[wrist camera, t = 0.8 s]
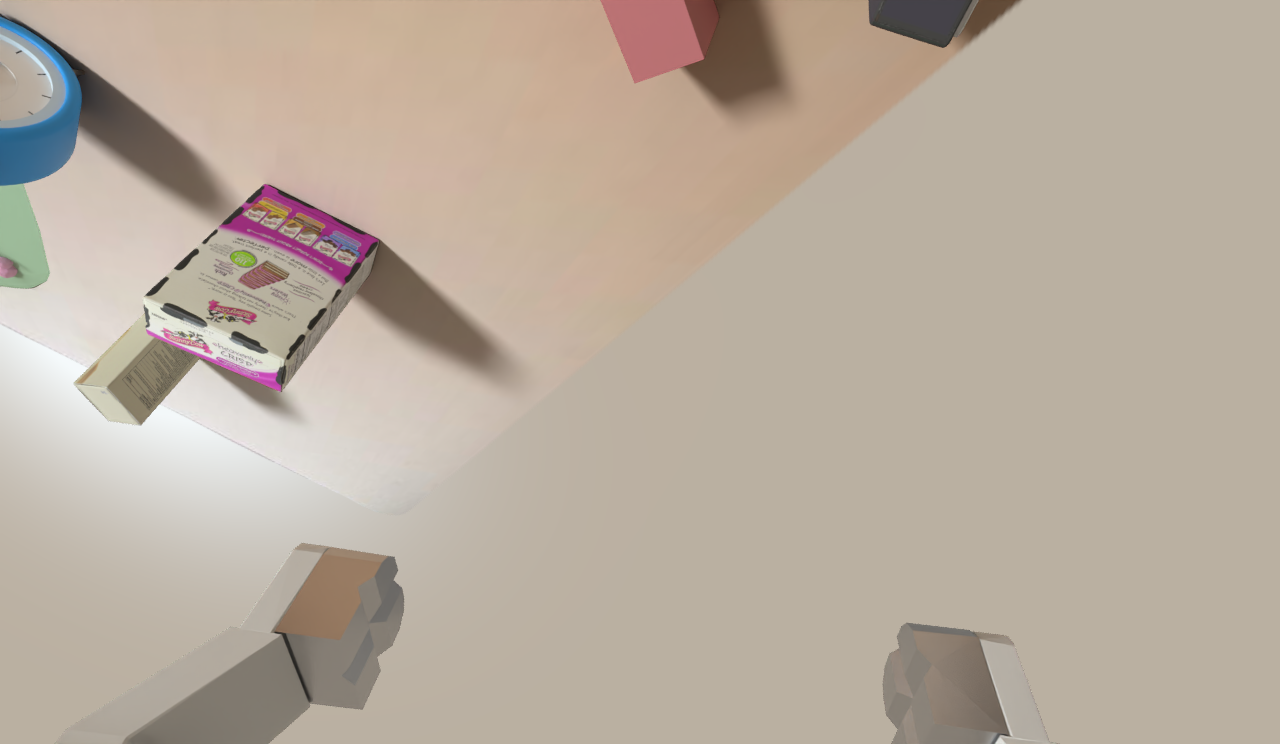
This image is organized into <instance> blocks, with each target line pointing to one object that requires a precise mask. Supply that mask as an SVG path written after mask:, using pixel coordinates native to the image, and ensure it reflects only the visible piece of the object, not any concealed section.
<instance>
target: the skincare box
mask: <svg viewBox="0 0 1280 744" xmlns="http://www.w3.org/2000/svg"><path fill="white" fill-rule="evenodd" d="M146 325H147V322H146V319H145V313H144V314H143V315H142V316H141V317H140V318H139V319H138V320H137V321H136V322H135V323H134V324H133V325H132V326H131V327H130V328H129V329H128V330H127V331H126V332H125V333H124V334H123V335H122V336H121V337H120V338H119V339H118V340H117V341H116V342H115V343H114V344H113V345H112V346H111V347H110V348H109V349H108V350H107V351H106V352H105V353H104V354H103V355H102V356H101V357H100V358H99V359H97V360H96V361H95V362H94V363H93V364H92V365H91V366H90V367H89V368H88V369H87V370H86V371H85V372H84V373H83V374H82V375H81V376H80V377H79V378H78V379H77V380H76V381H75V382H74V385H75V386H76V387H77V388H78V390H79V391H80V392H81V393H82V394H83V395H84V396H85V397H86V398H87V399H88V400H89V401H90V402H91V403H92V404H93V405H94V406H95V407H96V409H97V410H99V412H100V413H102V415H103V416H104V417H105V418H106V419H107V420H108V421H112V422H119V423H126V424H132V425H139V426H140V425H142V423H143V422H144V421H145V420H146V419H147V417H149V416H150V414H151V413H152V412H153V411H154V410H155V409H156V407H157V406H158V405H159V404H160V403H161V402H162V401H163V400H164V398H165V397H166V396H167V395H168V394H169V393H170V392H171V391H172V389H173V388H174V387H175V386H176V385H177V384H178V383H179V381H180V380H181V379H182V378H183V377H184V376H185V375H186V374H187V372H188V371H189V370H190V369H191V368H192V367H193V366H194V365H195V363H196V362H197V361H198V360H199V359H200V358H201V357H198V356H196V355H194V354H191V353H189V352H187V351H185V350H182V349H180V348H178V347H175V346H173V345H171V344H169V343H166V342H164V341H162V340H159V339H157V338H155V337H152V336H150V335H148V334H147V331H146V328H145V326H146Z"/></svg>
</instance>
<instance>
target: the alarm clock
mask: <svg viewBox="0 0 1280 744" xmlns="http://www.w3.org/2000/svg"><path fill="white" fill-rule="evenodd" d="M84 74H85V72H84V71H83V70H77V69H72V68H71V67H70V66H69V64H68V63H67V62H66V61H65V59H64V58H63V57H62V56H61V55H60V54H59V53H58V52H57V51H56V50H55V49H54V48H53V47H51V46H50V45H49V44H48V43H46V42H45V41H44V40H42V39H41V38H40V37H38V36H37V35H35V34H33V33H32V32H30V31H29V30H27V29H25V28H23V27H21V26H19V25H17V24H15V23H13V22H11V21H9V20H7V19H5V18H2V17H0V186H7V185H17V184H23V183H28V182H32V181H36V180H39V179H42V178H44V177H46V176H49V175H51V174H52V173H54V172H56V171H57V170H59V169H60V168H61V167H62V166H63V165H64V164H66V162H67V161H68V160H69V159H70V157H71V155H72V153H73V151H74V148H75V144H76V137H77V131H78V124H79V118H80V111H81V104H82V93H81V87H80V84H79V81H78V79H77V77H76V76H80V75H84Z"/></svg>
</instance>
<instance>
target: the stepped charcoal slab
mask: <svg viewBox="0 0 1280 744" xmlns="http://www.w3.org/2000/svg"><path fill="white" fill-rule="evenodd" d="M978 1H979V0H869V21H870V24H871V25H873V26H876V27H879V28H882V29H885V30H888V31H891V32H894V33H897V34H900V35H903V36H907V37H910V38H913V39H916V40H919V41H922V42H925V43H929V44H932V45H935V46H938V47H942V48H944V47H946V46H947V45H948V44H949V43H950V41H951V39H952V38H953V36H954V37H958V36H959V35H960V34H961V32H962V30H963V29H964V27H965V25H966V23H967V21H968V19H969V18H970V16H971V14H972V12H973V10H974V8H975V6H976V5H977V3H978Z"/></svg>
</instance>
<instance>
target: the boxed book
mask: <svg viewBox="0 0 1280 744" xmlns="http://www.w3.org/2000/svg"><path fill="white" fill-rule="evenodd" d="M601 2H602V5H603V7H604V10H605V12H606V15H607V17H608V20H609V22H610V24H611V27H612V29H613V32H614V34H615V37H616V39H617V41H618V44H619V46H620V49H621V51H622V54H623V56H624V58H625V61H626V63H627V66H628V68H629V71H630V73H631V75H632V78H633V80H634V83H637V82H640V81H643V80H646V79H649V78H652V77H655V76H657V75H660V74H663V73H666V72H669V71H672V70H675V69H678V68H680V67H683V66H686V65H689V64H692V63H695V62H698V61H701V60H704V58H705V56H706V53H707V50H708V48H709V45H710V42H711V39H712V37H713V34H714V31H715V29H716V26H717V23H718V20H719V14H718V11H717V8H716V5H715V2H714V0H601Z"/></svg>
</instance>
